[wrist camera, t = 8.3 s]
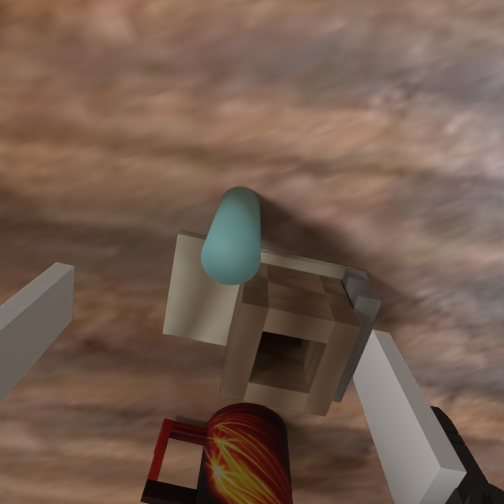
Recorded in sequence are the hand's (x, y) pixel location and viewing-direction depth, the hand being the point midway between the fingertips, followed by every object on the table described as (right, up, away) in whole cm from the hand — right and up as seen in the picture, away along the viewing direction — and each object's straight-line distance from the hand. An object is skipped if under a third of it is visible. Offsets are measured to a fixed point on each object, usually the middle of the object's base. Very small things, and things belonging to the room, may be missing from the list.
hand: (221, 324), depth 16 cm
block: (+4, -3, +20) cm, 21 cm away
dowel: (0, +7, +17) cm, 19 cm away
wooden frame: (+2, -2, +21) cm, 21 cm away
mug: (-1, -19, +28) cm, 34 cm away
